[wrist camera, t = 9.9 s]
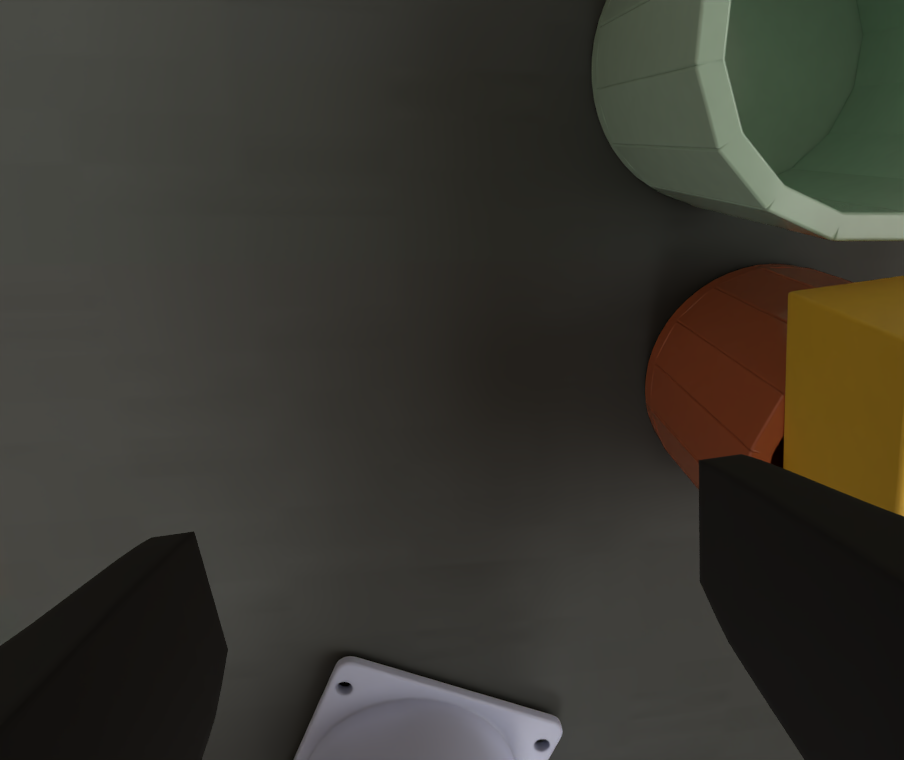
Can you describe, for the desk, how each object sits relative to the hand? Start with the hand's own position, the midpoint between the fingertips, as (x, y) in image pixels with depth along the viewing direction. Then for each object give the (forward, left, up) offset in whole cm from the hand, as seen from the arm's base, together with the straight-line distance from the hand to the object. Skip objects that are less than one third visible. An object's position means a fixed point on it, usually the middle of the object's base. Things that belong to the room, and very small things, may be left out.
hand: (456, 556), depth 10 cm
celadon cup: (+10, -4, -10) cm, 15 cm away
